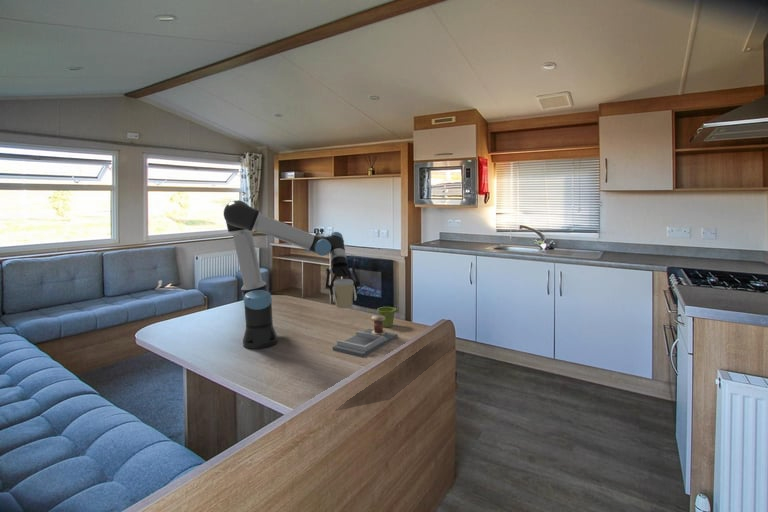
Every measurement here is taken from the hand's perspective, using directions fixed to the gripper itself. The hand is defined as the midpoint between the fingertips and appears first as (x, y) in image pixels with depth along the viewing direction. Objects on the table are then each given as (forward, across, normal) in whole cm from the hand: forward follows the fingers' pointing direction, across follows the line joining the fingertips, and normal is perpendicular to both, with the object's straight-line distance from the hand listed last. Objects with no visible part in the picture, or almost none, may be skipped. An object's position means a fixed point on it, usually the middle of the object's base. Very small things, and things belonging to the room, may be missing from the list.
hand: (345, 299), depth 188 cm
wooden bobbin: (+14, -15, -11) cm, 23 cm away
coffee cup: (+1, 0, -5) cm, 5 cm away
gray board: (+19, -8, -7) cm, 22 cm away
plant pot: (+4, -23, -23) cm, 33 cm away
